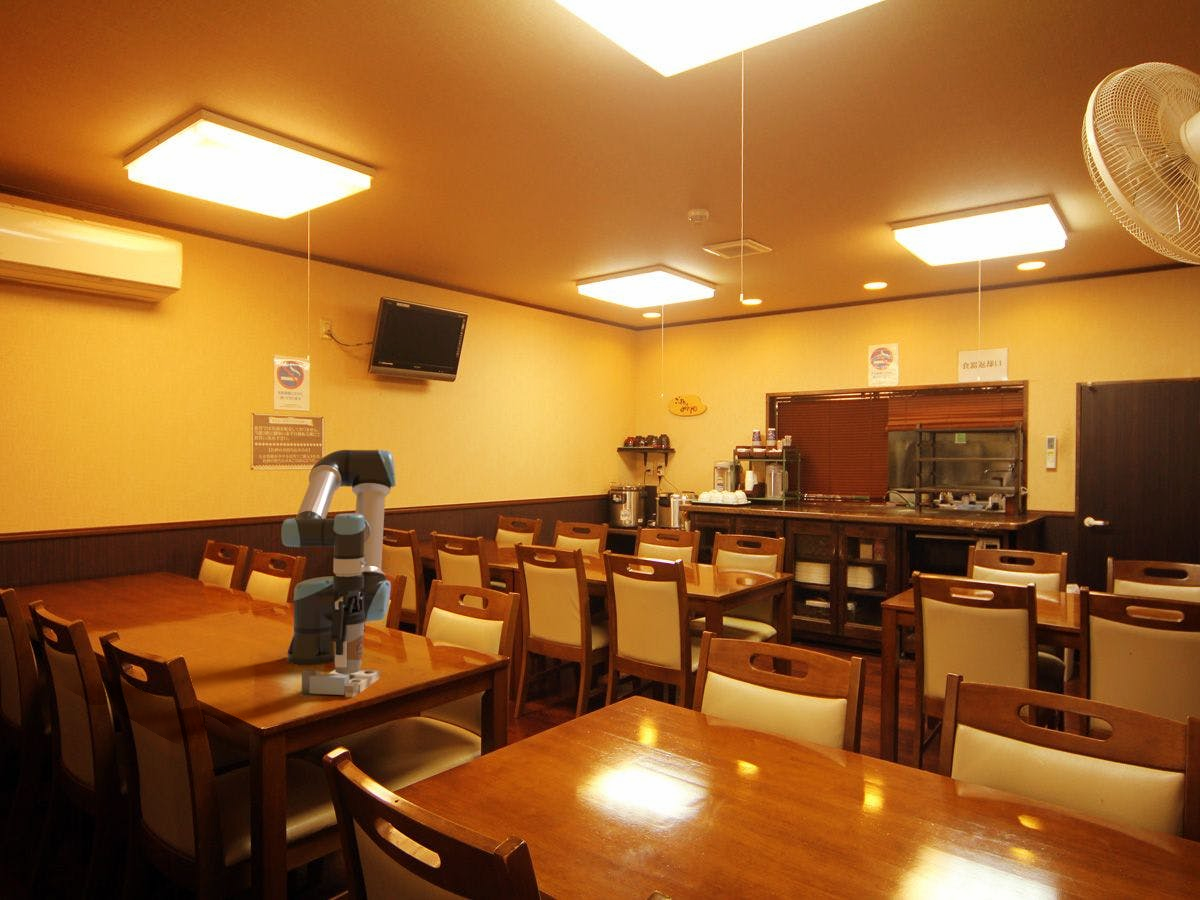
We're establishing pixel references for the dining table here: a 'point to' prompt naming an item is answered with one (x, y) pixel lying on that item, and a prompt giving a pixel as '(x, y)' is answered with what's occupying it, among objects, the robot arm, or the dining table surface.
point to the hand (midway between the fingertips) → (348, 662)
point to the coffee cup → (353, 642)
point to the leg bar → (323, 683)
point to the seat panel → (355, 682)
